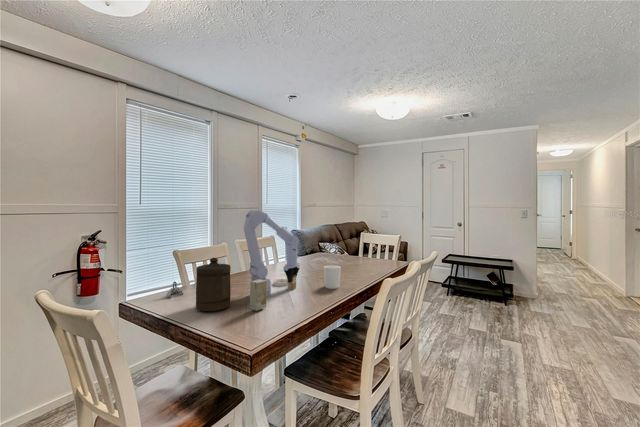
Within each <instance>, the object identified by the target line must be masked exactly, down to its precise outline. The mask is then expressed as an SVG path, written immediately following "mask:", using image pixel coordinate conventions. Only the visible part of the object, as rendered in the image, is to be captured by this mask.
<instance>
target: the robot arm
mask: <svg viewBox="0 0 640 427" xmlns="http://www.w3.org/2000/svg"><path fill="white" fill-rule="evenodd" d="M262 223H263V224H265V225H267V226H268V227H269V228H271V229H273V230H274V231H275V232H276V233H275V234H276V235H277V236H278V237H279V238H280V239H281V240H283V242H284V243H285V244H286V264H284V266H283V272H284V274H285V276H286V279H287V280H288V282H292V278H293V274H294V275H296V278H297V276H298V273H299V270H300V266H301V265H300V263H301V262H298V247H299V244H300V239H299V237H298V236H297V235H294V233H293V232H290V230H288V227H287V226H280V225H279V224H278V223H277V222H276V221H274V219H272V218H271V216H269V215H268V214H267V213H266V212H264V210H262V209H258V210H255V209H252V210H249V211H248V212H247V214H246V215H245V221H244V224H243V232H244V236H245V241H246V244H247V249H248V254H249V259H250V261H249V262H250V263H249V274H250V275H251V279H250V280H251V281H255V280H260V279H261V280H266V298H268V297H269V296H270V295H272V293H271V292H272V291H271V290H272V286H271V285H272V284H271V283H272V282H271V279H270V278H266V277H267V276H268V273H269V272H268V268H267V267H266V265H265V262H264V261H263V260H262V256H261V252H260V248H259V244H258V238H257V235H256V229H257V228H258V226H259V225H260V224H262ZM251 281H250V282H251ZM247 297H249V298H250V294H248V296H247Z"/></svg>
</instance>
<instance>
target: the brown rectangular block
mask: <svg viewBox="0 0 640 427" xmlns="http://www.w3.org/2000/svg"><path fill="white" fill-rule="evenodd" d="M295 289H297V277H296V275H294V274H293V278H292V282H288V285H287V290H289V291H294V290H295Z"/></svg>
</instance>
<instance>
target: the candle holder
mask: <svg viewBox="0 0 640 427" xmlns="http://www.w3.org/2000/svg"><path fill="white" fill-rule="evenodd" d="M341 269H342V266H341V265H335V264H331V265H330V264H328V265H324V266H323V277H324V278H323V279H324V288H326V289H331V290H333V289H334V290H336V289H339V288H340V286H341V271H342V270H341Z"/></svg>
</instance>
